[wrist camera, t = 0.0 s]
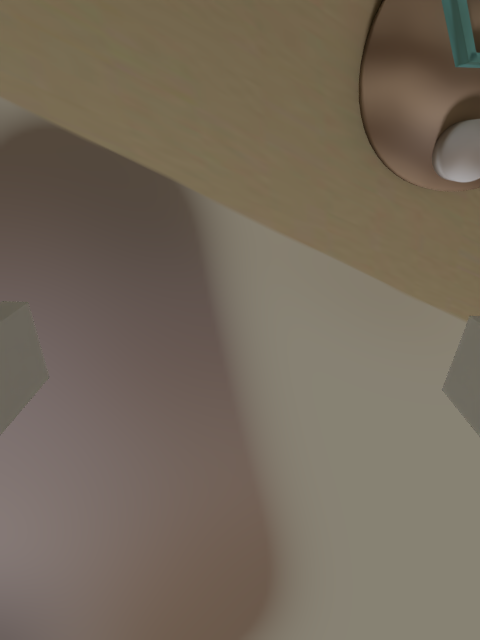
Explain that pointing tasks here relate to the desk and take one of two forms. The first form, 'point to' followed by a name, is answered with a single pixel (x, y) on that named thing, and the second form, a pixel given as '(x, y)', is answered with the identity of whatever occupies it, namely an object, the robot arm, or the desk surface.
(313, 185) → the desk surface
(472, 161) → the carrier
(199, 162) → the desk surface
